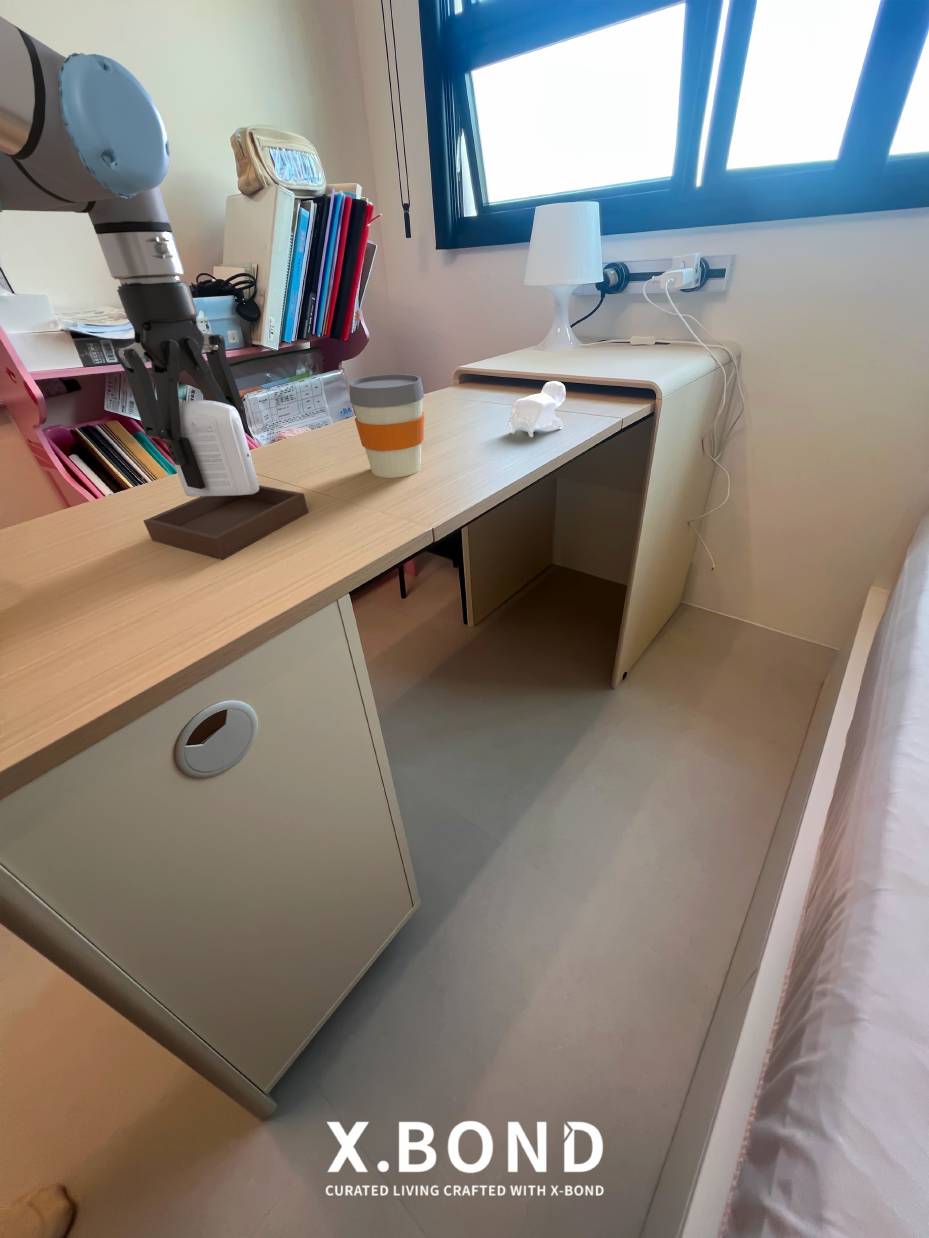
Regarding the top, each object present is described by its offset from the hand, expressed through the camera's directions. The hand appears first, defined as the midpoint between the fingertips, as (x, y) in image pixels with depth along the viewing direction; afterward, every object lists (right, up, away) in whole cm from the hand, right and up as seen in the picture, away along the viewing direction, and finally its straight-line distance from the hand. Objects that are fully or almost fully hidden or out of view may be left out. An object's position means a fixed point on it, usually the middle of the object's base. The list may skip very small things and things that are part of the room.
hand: (217, 477), depth 71 cm
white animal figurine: (+51, +22, +40) cm, 69 cm away
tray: (0, -6, +4) cm, 7 cm away
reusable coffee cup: (+22, +8, +22) cm, 32 cm away
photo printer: (0, -2, +1) cm, 2 cm away
